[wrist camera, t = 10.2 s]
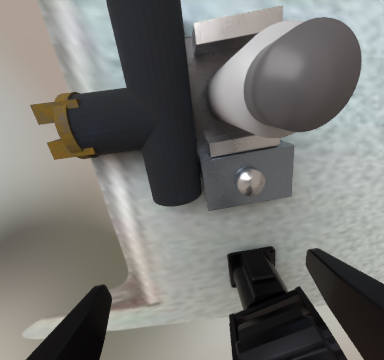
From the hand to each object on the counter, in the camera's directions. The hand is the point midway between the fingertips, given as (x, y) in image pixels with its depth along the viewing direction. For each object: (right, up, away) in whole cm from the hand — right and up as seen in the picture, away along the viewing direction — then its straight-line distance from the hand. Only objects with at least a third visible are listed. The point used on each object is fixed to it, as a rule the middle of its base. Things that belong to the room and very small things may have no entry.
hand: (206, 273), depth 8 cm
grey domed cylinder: (+3, +12, +9) cm, 15 cm away
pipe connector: (-6, +10, +10) cm, 16 cm away
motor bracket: (+3, +10, +10) cm, 15 cm away
